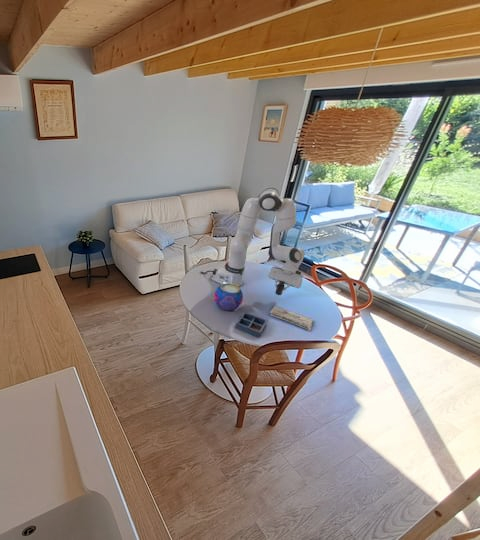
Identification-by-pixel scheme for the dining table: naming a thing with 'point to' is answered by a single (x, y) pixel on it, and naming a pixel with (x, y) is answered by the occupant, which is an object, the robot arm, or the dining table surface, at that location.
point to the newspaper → (292, 317)
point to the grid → (251, 324)
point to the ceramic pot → (228, 296)
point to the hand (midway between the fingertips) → (279, 288)
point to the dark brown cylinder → (280, 288)
